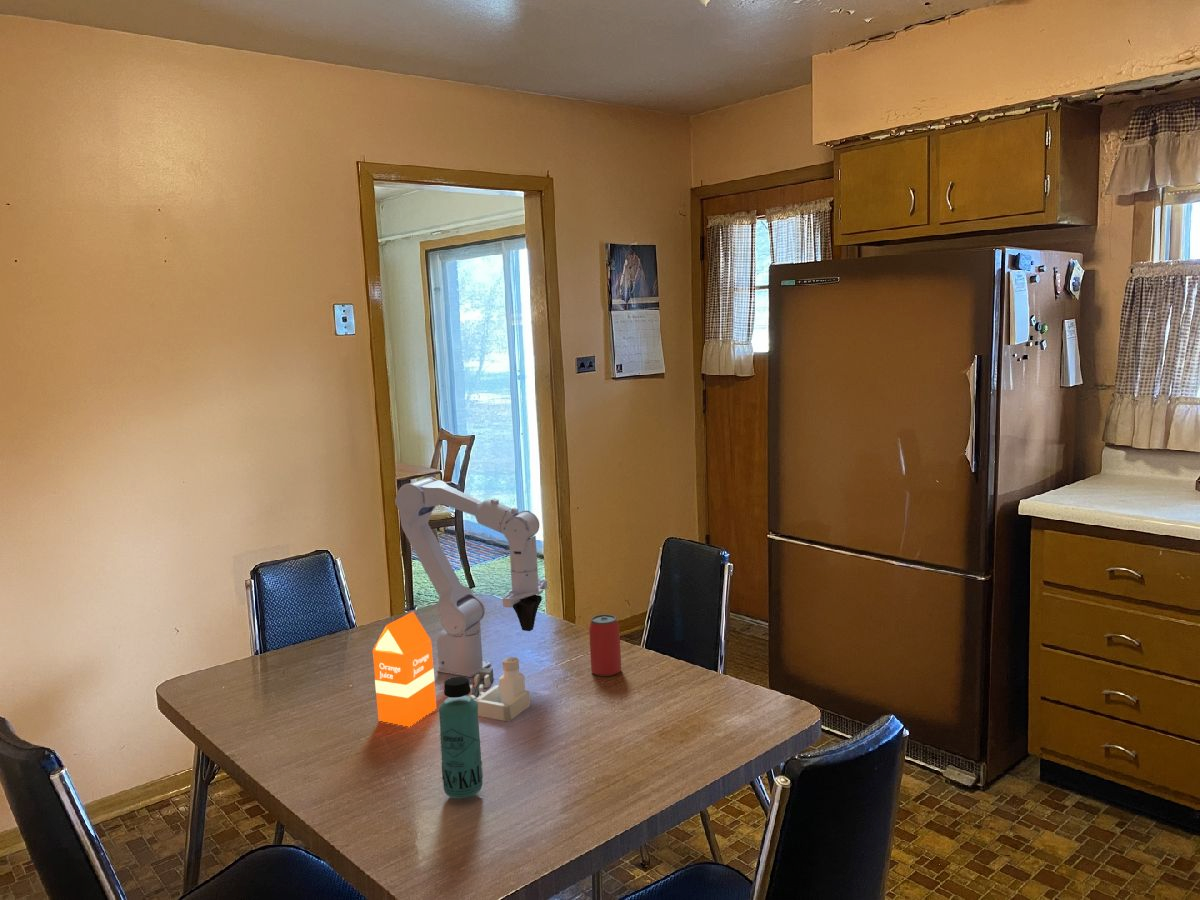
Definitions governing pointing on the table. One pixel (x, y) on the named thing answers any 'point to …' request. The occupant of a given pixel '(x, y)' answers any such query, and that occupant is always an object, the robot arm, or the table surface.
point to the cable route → (483, 673)
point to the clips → (481, 687)
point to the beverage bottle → (460, 740)
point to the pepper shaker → (511, 680)
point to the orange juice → (404, 672)
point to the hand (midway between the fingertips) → (527, 629)
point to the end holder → (501, 705)
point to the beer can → (605, 645)
